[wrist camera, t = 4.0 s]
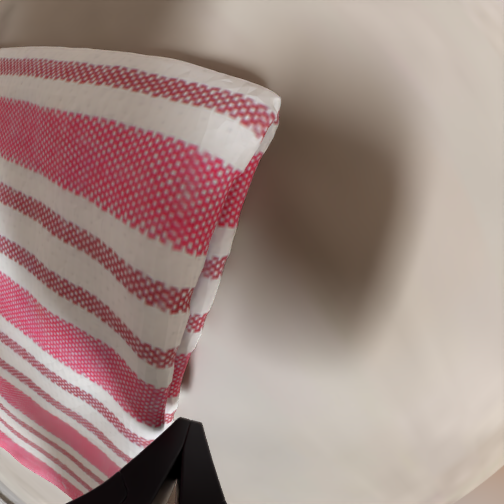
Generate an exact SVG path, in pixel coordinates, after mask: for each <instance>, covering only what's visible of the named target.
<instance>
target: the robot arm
mask: <svg viewBox="0 0 504 504" xmlns="http://www.w3.org/2000/svg"><path fill="white" fill-rule="evenodd" d="M176 480H177V486H176V498H175V504H227V503H226V501H225V497H224V494H223V491H222V488H221V485H220V482H219V479H218V476H217V473H216V470H215V467H214V463H213V460H212V457H211V453H210V450H209V446H208V443H207V439H206V436H205V432H204V428H203V425H202V423H201V422H197V421H193V420H189V419H186V418H182V417H179V418H178V419H177V420H176V421H175V422H173V423H172V424H171V425H170V426H169V427H168V428H167V429H166V430H165V431H164V432H163V433H162V434H160V435H159V436H158V437H157V438H156V439H155V440H154V441H153V442H151V443H150V444H149V445H148V446H147V447H146V448H145V449H144V450H142V451H141V452H140V453H139V454H138V455H137V456H135V457H134V458H133V459H132V460H131V461H130V462H128V463H127V464H126V465H125V466H124V467H123V468H121V469H120V470H119V471H118V472H116V473H115V474H114V475H113V476H111V477H110V478H109V479H108V480H106V481H105V482H103V483H102V484H101V485H99V486H97V487H96V488H94V489H93V490H91V491H89V492H87V493H86V494H84V495H82V496H80V497H78V498H76V499H74V500H72V501H70V502H68V503H66V504H167V502H168V499H169V497H170V495H171V492H172V490H173V487H174V485H175V483H176Z"/></svg>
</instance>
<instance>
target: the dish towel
mask: <svg viewBox="0 0 504 504" xmlns="http://www.w3.org/2000/svg"><path fill="white" fill-rule="evenodd" d="M280 106H281V97H280V96H279V95H277V94H276V93H275V92H273V91H272V90H269V89H267V88H265V87H263V86H260V85H258V84H255V83H252V82H250V81H247V80H244V79H240V78H237V77H233V76H230V75H227V74H224V73H219V72H217V71H214V70H211V69H207V68H204V67H201V66H198V65H195V64H192V63H188V62H185V61H181V60H177V59H172V58H166V57H160V56H149V55H143V54H137V53H131V52H121V51H111V50H100V49H90V48H68V47H60V46H58V47H50V46H37V47H34V46H29V47H10V48H0V446H1V447H2V448H4V449H5V450H6V451H8V452H9V453H10V454H11V455H12V456H13V457H14V458H15V459H16V460H17V461H18V462H20V463H21V464H22V465H24V466H25V467H27V468H28V469H29V470H31V471H33V472H34V473H36V474H38V475H39V476H41V477H43V478H44V479H46V480H48V481H49V482H51V483H53V484H54V485H56V486H57V487H58V488H59V489H61V490H62V491H63V492H64V493H66V494H67V495H68V496H69V497H71V498H72V499H73V500H74V499H76V498H78V497H80V496H82V495H84V494H86V493H87V492H89V491H91V490H93V489H94V488H96V487H97V486H99V485H101V484H102V483H103V482H105V481H106V480H108V479H109V478H110V477H111V476H113V475H114V474H115V473H116V472H118V471H119V470H120V469H121V468H123V467H124V466H125V465H126V464H127V463H128V462H130V461H131V460H132V459H133V458H134V457H135V456H137V455H138V454H139V453H140V452H141V451H142V450H144V449H145V448H146V447H147V446H148V445H149V444H150V443H151V442H153V441H154V440H155V439H156V438H157V437H158V436H159V435H160V434H162V433H163V432H164V431H165V430H166V429H167V428H168V427H169V426H170V425H171V424H172V423H173V421H174V413H175V411H176V409H177V408H178V400H179V393H180V386H181V382H182V378H183V375H184V372H185V369H186V366H187V363H188V361H189V358H190V355H191V352H192V351H193V350H194V349H195V348H196V345H197V342H198V340H199V338H200V336H201V334H202V330H203V325H204V321H205V318H206V316H207V314H208V312H209V310H210V309H211V306H212V303H213V301H214V298H215V295H216V293H217V290H218V287H219V284H220V281H221V277H222V273H223V269H224V265H225V261H226V260H227V258H228V256H229V255H230V251H231V246H232V242H233V239H234V236H235V233H236V230H237V227H238V222H239V216H240V212H241V209H242V206H243V204H244V201H245V198H246V195H247V192H248V189H249V186H250V184H251V181H252V178H253V175H254V173H255V171H256V168H257V166H258V163H259V161H260V159H261V157H262V156H263V154H264V153H265V151H266V150H267V148H268V146H269V144H270V143H271V141H272V139H273V138H274V135H275V132H276V129H277V127H278V125H279V109H280Z"/></svg>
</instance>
